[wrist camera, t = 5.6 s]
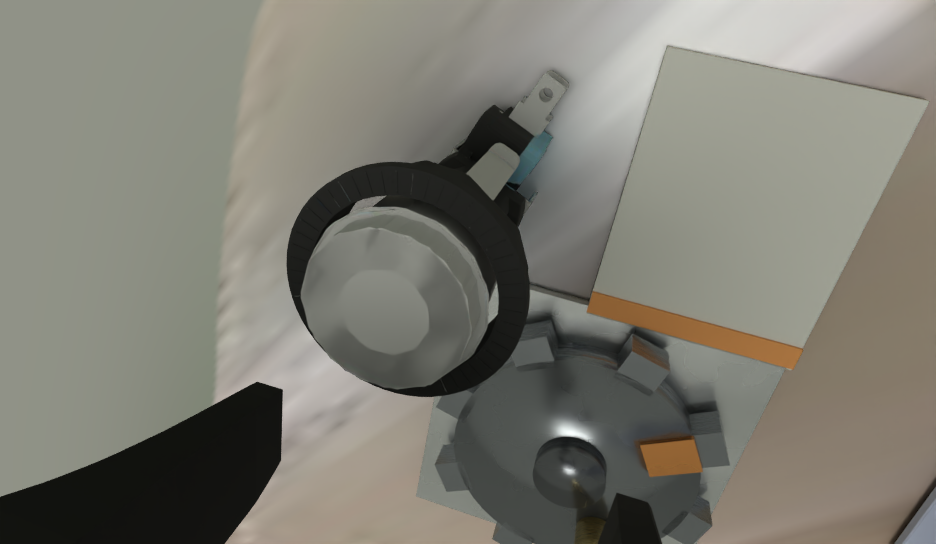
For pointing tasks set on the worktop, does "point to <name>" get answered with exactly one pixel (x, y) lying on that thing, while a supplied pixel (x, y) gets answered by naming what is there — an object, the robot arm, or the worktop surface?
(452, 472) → the sprocket
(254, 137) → the worktop surface
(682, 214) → the pad
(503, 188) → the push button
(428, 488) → the sprocket plate
